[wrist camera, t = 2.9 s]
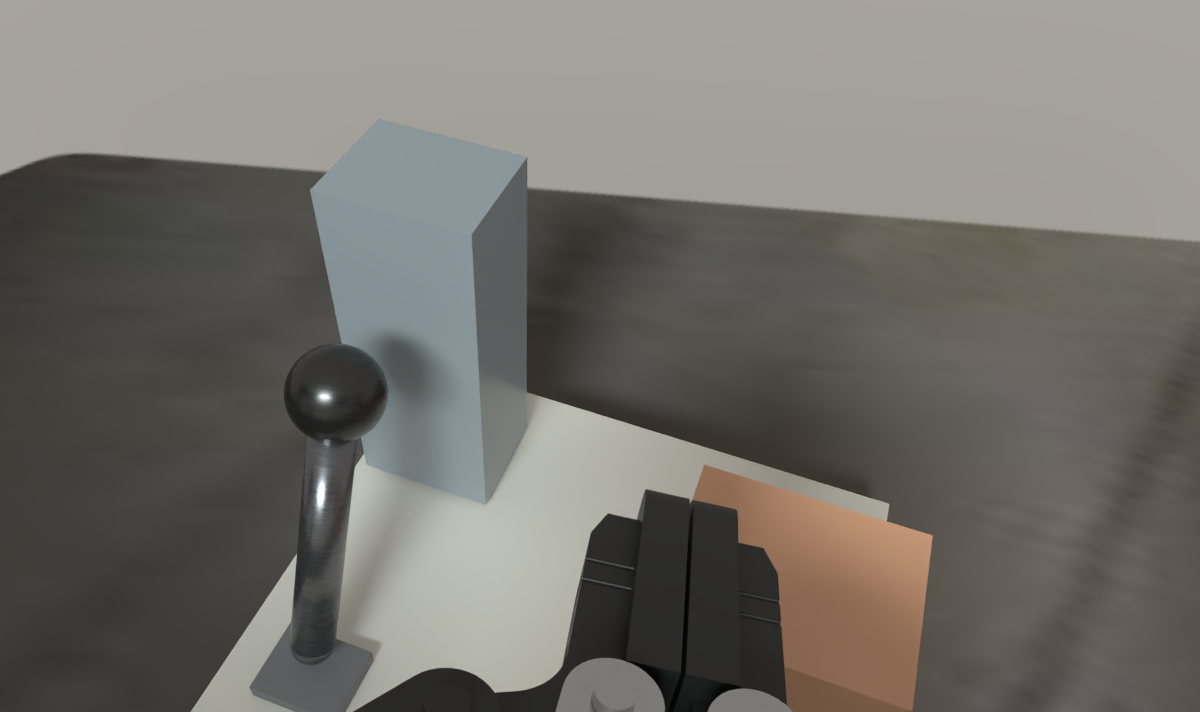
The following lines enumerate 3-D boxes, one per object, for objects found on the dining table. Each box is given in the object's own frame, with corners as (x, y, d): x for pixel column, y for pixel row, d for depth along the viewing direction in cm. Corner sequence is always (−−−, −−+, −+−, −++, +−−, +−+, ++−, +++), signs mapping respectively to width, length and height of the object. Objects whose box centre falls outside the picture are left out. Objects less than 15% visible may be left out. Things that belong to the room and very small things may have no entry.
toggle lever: (326, 703, 28) (360, 380, 24) (245, 672, 29) (265, 349, 24) (372, 647, 31) (410, 346, 26) (297, 619, 31) (323, 319, 27)
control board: (782, 1052, 27) (810, 1032, 24) (183, 796, 30) (150, 754, 28) (868, 545, 39) (893, 495, 36) (431, 406, 42) (424, 351, 40)
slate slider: (485, 504, 35) (471, 234, 25) (366, 464, 36) (310, 189, 26) (526, 427, 38) (527, 157, 28) (414, 392, 38) (378, 118, 29)
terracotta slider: (773, 898, 26) (912, 711, 17) (607, 832, 27) (650, 620, 18) (800, 762, 29) (932, 535, 20) (647, 707, 30) (704, 464, 21)
